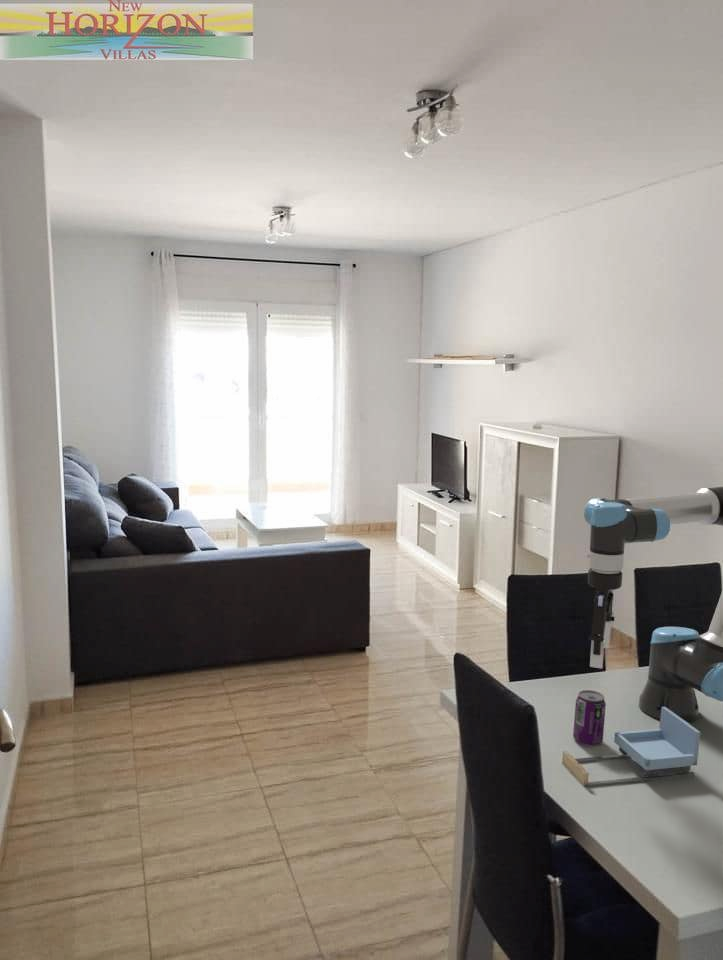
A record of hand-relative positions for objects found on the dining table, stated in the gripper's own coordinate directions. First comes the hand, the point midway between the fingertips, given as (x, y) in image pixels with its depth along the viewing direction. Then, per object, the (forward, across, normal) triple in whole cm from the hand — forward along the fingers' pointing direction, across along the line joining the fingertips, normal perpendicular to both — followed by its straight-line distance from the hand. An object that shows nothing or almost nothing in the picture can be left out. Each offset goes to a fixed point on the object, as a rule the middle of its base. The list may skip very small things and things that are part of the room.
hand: (599, 656), depth 178 cm
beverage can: (+25, -6, -2) cm, 25 cm away
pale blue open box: (+25, 0, +13) cm, 28 cm away
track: (+24, +4, +8) cm, 26 cm away
